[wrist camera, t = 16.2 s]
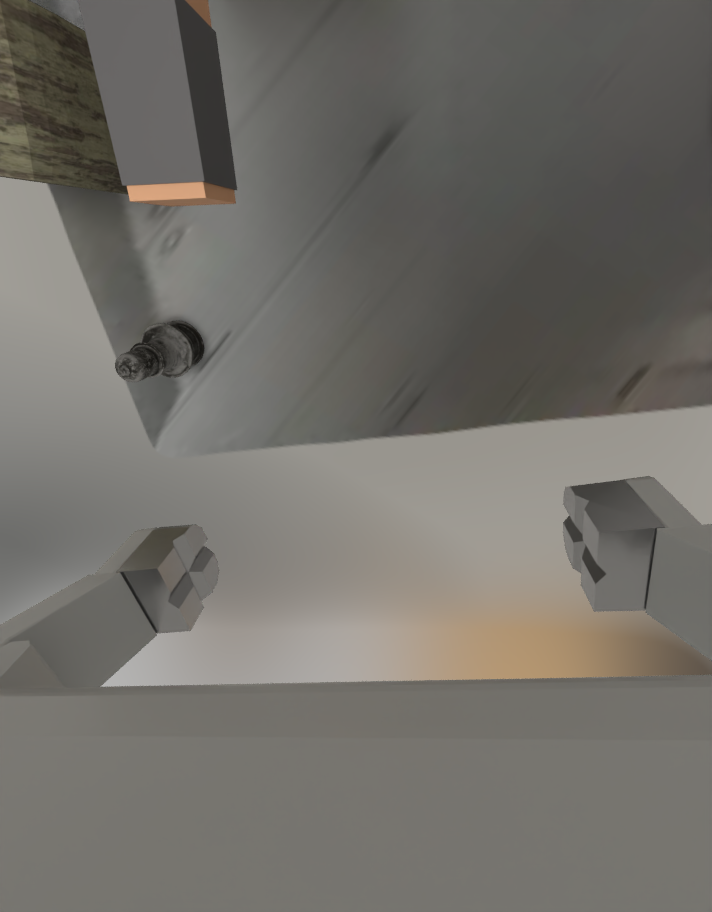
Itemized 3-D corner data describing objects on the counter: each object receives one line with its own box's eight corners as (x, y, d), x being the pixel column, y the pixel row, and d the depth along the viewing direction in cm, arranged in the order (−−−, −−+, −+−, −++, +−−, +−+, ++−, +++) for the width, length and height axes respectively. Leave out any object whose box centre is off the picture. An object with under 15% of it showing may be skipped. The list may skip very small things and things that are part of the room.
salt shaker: (208, 371, 50) (154, 407, 40) (161, 366, 51) (95, 400, 40) (203, 320, 47) (144, 344, 37) (153, 315, 48) (80, 337, 37)
